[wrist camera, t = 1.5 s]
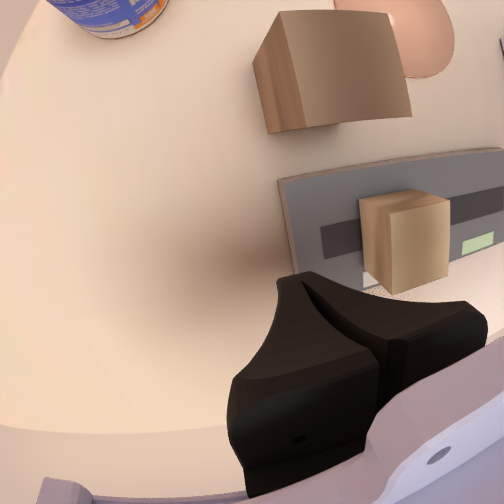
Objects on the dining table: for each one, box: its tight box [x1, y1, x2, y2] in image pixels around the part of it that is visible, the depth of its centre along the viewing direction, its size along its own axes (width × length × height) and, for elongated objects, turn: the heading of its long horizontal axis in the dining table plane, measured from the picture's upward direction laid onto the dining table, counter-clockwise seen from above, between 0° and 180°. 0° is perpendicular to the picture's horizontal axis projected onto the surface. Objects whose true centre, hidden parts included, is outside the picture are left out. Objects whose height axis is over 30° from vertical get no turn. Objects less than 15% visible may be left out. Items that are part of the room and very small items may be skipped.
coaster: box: [334, 0, 454, 78], centre depth 13 cm, size 9×9×1 cm
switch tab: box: [359, 189, 450, 295], centre depth 14 cm, size 4×4×3 cm
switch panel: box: [277, 148, 504, 291], centre depth 17 cm, size 18×7×2 cm, turn 102°
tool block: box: [253, 10, 412, 134], centre depth 11 cm, size 4×4×7 cm
